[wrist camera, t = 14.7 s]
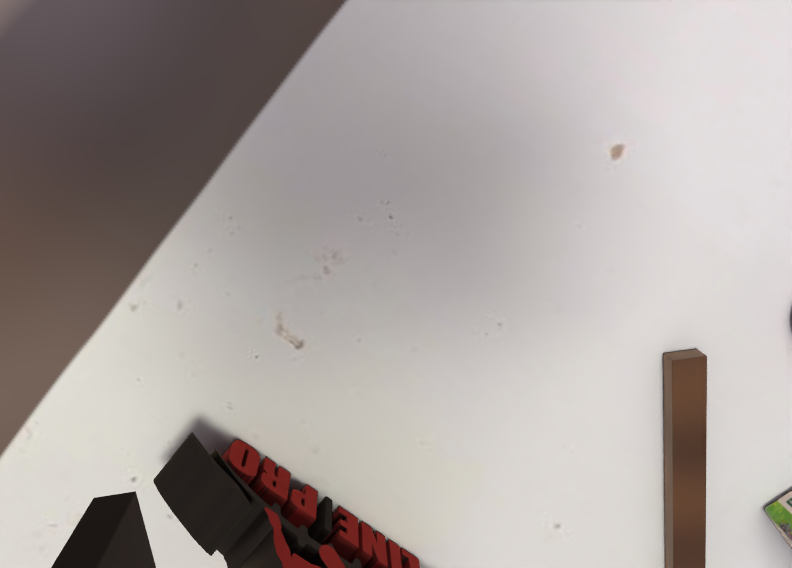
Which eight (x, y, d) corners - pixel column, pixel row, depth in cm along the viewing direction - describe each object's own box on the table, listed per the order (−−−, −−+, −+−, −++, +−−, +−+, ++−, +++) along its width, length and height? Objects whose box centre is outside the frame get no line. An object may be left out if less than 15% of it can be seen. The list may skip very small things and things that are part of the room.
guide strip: (662, 352, 41) (672, 360, 40) (697, 348, 41) (707, 355, 40) (666, 692, 47) (674, 707, 46) (695, 688, 47) (704, 703, 46)
